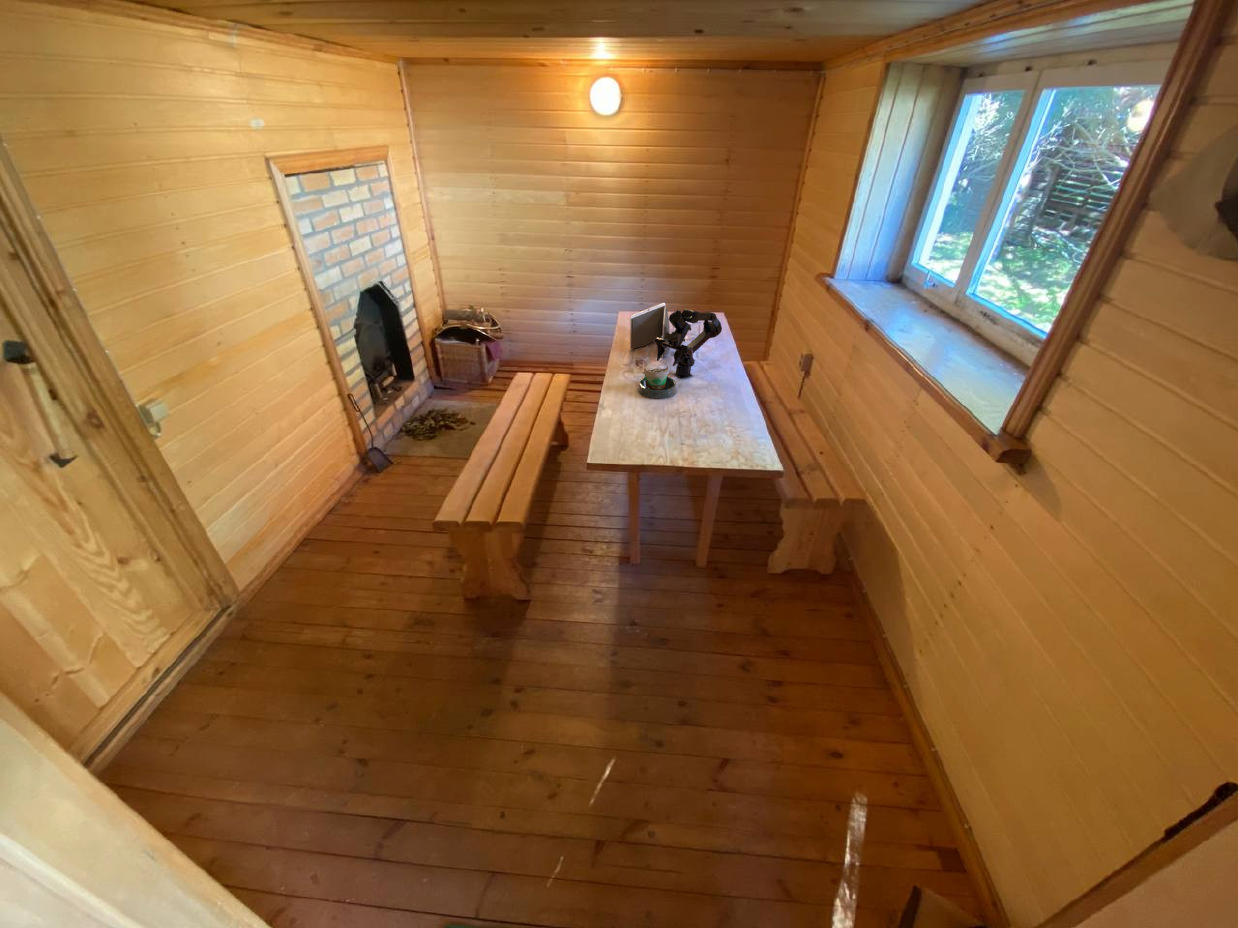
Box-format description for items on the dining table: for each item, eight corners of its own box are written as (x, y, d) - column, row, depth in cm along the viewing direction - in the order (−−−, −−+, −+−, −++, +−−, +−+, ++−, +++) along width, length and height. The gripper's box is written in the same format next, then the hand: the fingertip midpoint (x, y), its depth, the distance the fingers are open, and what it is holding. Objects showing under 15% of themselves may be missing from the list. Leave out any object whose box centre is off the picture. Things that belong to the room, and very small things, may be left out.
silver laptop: (668, 359, 272) (671, 323, 261) (628, 357, 273) (629, 322, 262) (668, 335, 301) (670, 302, 290) (631, 334, 302) (632, 301, 291)
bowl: (664, 380, 251) (665, 372, 249) (681, 394, 238) (682, 387, 236) (633, 386, 245) (633, 378, 243) (648, 401, 232) (649, 393, 230)
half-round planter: (646, 394, 238) (647, 374, 232) (642, 388, 242) (643, 369, 237) (671, 391, 240) (672, 371, 235) (667, 385, 245) (668, 366, 239)
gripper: (657, 320, 237) (642, 350, 236) (691, 329, 227) (675, 360, 226) (666, 332, 246) (651, 360, 246) (699, 341, 237) (684, 371, 236)
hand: (665, 363), depth 238 cm, fingers open, 9 cm apart
